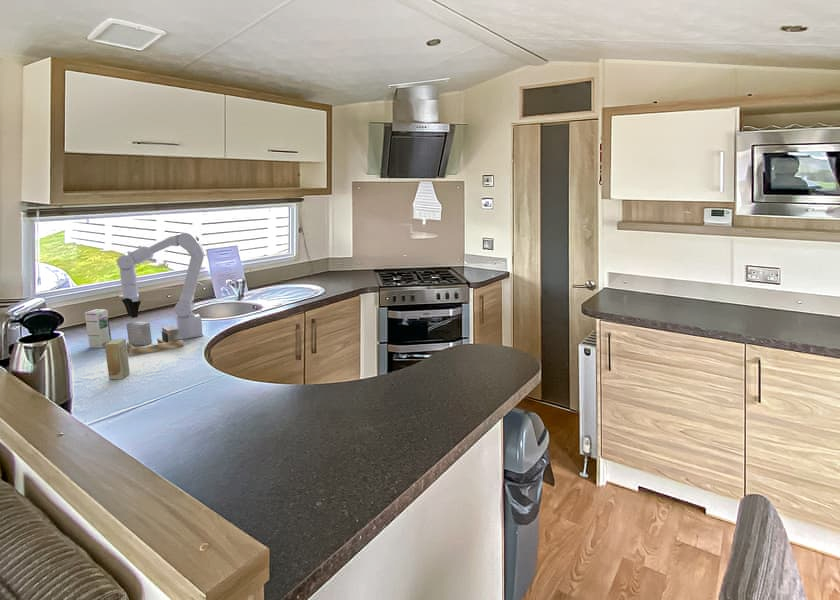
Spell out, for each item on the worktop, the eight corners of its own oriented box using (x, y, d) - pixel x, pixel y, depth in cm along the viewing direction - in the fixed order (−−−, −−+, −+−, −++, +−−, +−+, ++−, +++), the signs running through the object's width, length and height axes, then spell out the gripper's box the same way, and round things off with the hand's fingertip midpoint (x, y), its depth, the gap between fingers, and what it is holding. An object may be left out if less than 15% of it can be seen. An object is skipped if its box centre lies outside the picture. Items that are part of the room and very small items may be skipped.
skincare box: (117, 374, 189) (112, 338, 186) (130, 373, 189) (126, 338, 187) (108, 380, 182) (103, 343, 180) (122, 379, 183) (117, 343, 180)
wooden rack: (176, 341, 230) (174, 324, 228) (183, 346, 222) (181, 329, 221) (124, 349, 218) (122, 332, 216) (131, 355, 210) (129, 337, 209)
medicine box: (152, 343, 228) (150, 322, 226) (143, 346, 223) (141, 324, 222) (137, 341, 230) (134, 321, 228) (128, 344, 226) (126, 323, 224)
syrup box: (101, 348, 221) (97, 312, 218) (88, 347, 222) (84, 311, 219) (112, 344, 226) (108, 309, 223) (99, 343, 227) (95, 308, 225)
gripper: (114, 282, 231) (118, 315, 234) (122, 287, 220) (126, 320, 223) (133, 281, 236) (136, 312, 238) (141, 285, 225) (145, 318, 227)
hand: (132, 316), depth 231 cm, fingers open, 5 cm apart
